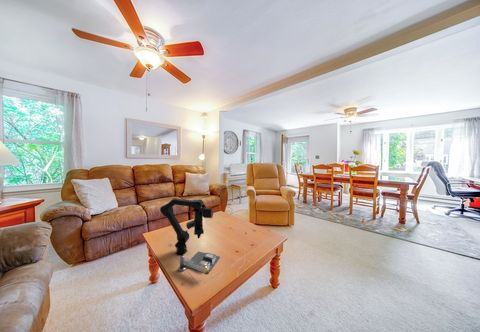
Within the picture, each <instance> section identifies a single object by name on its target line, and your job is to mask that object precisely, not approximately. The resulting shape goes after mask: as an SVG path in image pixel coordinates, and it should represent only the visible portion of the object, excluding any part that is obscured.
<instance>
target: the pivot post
mask: <svg viewBox="0 0 480 332" xmlns="http://www.w3.org/2000/svg"><path fill="white" fill-rule="evenodd" d="M184 258H185V254H184V255H179V267H177V271H178V272H180V273H182V272H184V271H186V270H187V267H186V266H184V264H183V259H184Z"/></svg>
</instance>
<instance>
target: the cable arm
mask: <svg viewBox="0 0 480 332" xmlns="http://www.w3.org/2000/svg"><path fill="white" fill-rule="evenodd" d="M190 259H191V258H187V257H184V259H183V264H184V265H187V266H189V267H191V268H194V269H196V270H195V271H197V270H199V271H198V272H200V271H201V273H203V274H207V265H203V264H201V263H198V262H196V261H193V260H190Z"/></svg>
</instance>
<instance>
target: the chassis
mask: <svg viewBox="0 0 480 332" xmlns="http://www.w3.org/2000/svg"><path fill="white" fill-rule="evenodd" d="M220 258H221V257H220V256H219V255H216V254H214V253H210V252H203V251H199V250H197V252H196V253H195V254H194V255H192V257H190V258H189V259H190V260H193V261H196V262H198V263H201V264H203V265H207V273H206V274H207V275H209V273H210V272H211V271H212V270H213V268H214V267H215V266H216V265H217V263H218V261H219V260H220ZM184 266H186V269H191V270H194V271H198V272H201V271H199V270H196V269H194V268H191V267H189V266H187V265H184ZM201 273H202V272H201Z"/></svg>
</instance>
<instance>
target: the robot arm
mask: <svg viewBox="0 0 480 332" xmlns="http://www.w3.org/2000/svg"><path fill="white" fill-rule="evenodd" d="M174 206H180V207H181V206H182V207H189V208H191V209H192V210H191V212H193V213H194V217H193V220H191V221H188V222H186V225H185V226H186V229H187V230H183V228H182V225H180V224H181V223H180V222H179V221H178V219H177V217H176V215H175V213H174V208H173V207H174ZM159 211H160V213H161V214H162V215H163V217H166V219H168V222H169V223H170V225H171V227H172V229H173V230H174V232H175V233H176V240H177V242H176V243H175V244H174V246H175V248H176V252H175V255H178V256H181V255H184V256H185V254H186V253H187V252H188V251H189V250H188V249H187V242H188V241H189V240H190V233H189V232H188V230H190V229H192V228H194V231H193V235H194V236H197V239H200V238H201V236H202V235H203V234H204V231H205V230H204V225H203V224H204V223H203V220H204V219H203V218H205V219H213V216H214V211H213V208H207V206H206V205H205V203H204V201H203V200H202V199H183V198H173V199H171V200H170V201H168V202H167V203H166V204H163V205H162V206H161V207H160V208H159Z"/></svg>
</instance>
